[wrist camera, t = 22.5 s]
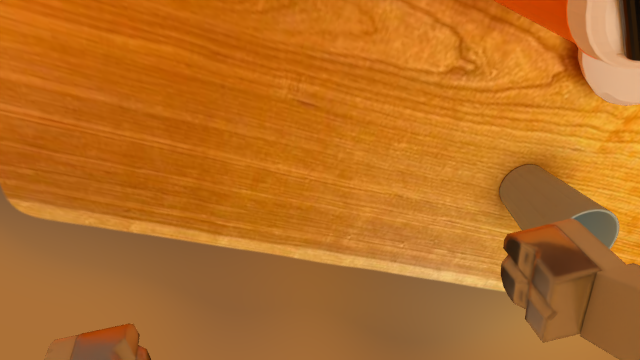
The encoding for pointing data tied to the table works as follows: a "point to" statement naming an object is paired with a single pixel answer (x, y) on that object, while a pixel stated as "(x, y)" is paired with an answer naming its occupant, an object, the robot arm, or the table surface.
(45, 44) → the table surface
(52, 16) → the table surface
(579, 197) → the cup
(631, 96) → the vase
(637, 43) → the shaker bottle
